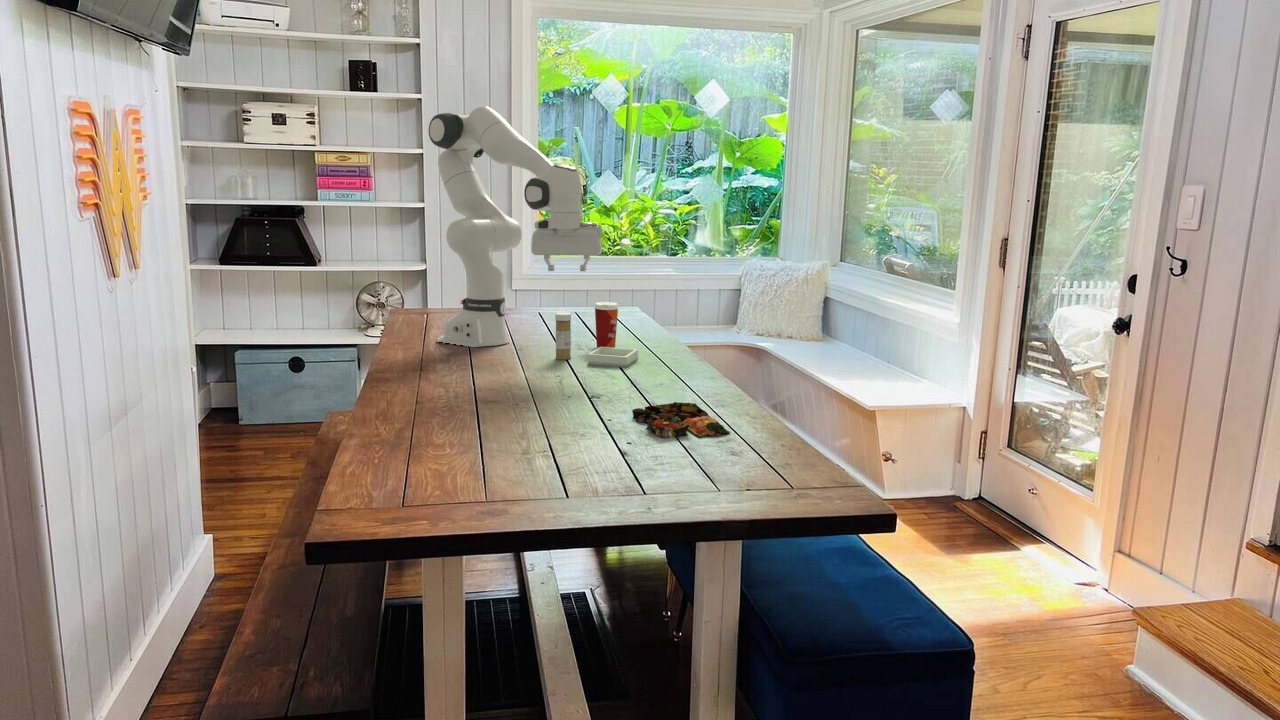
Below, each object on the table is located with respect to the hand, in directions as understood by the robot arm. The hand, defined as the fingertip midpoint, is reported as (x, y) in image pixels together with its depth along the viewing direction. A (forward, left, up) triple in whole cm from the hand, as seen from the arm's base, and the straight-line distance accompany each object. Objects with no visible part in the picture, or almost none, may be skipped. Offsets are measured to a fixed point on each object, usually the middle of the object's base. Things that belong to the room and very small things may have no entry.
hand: (567, 271), depth 266 cm
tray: (+14, -1, -26) cm, 29 cm away
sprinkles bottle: (-1, -2, -26) cm, 26 cm away
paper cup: (+6, +17, -26) cm, 32 cm away
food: (+47, -57, -26) cm, 78 cm away
